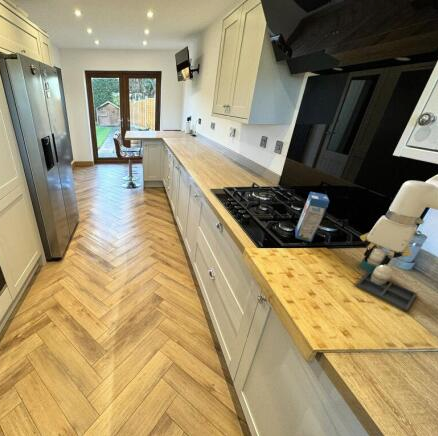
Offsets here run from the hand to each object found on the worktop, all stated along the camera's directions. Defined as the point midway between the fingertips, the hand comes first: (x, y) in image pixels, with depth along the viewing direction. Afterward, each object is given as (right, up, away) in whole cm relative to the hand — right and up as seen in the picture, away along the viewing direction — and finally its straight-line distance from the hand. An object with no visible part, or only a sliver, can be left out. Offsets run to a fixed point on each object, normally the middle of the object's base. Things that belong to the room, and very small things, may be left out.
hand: (374, 261), depth 87 cm
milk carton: (-12, +7, +23) cm, 27 cm away
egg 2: (-5, -6, -6) cm, 10 cm away
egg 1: (0, -2, +1) cm, 2 cm away
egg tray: (-6, -9, -9) cm, 14 cm away
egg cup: (0, -4, +2) cm, 4 cm away
